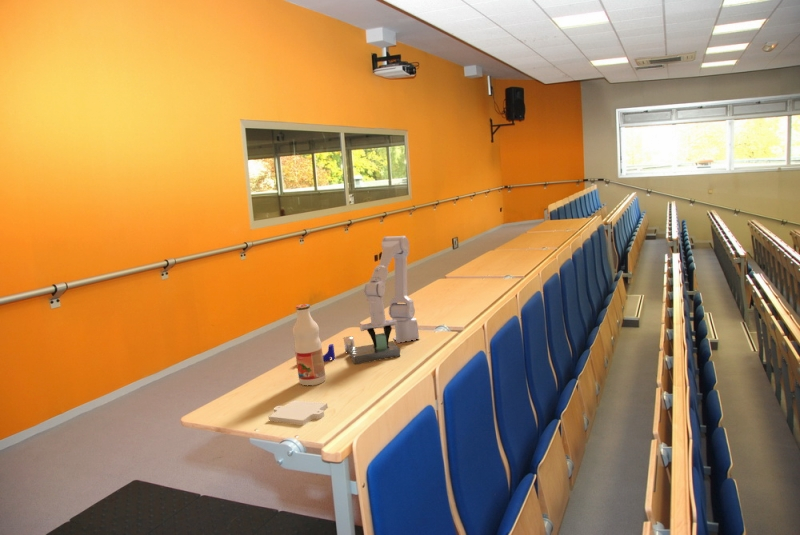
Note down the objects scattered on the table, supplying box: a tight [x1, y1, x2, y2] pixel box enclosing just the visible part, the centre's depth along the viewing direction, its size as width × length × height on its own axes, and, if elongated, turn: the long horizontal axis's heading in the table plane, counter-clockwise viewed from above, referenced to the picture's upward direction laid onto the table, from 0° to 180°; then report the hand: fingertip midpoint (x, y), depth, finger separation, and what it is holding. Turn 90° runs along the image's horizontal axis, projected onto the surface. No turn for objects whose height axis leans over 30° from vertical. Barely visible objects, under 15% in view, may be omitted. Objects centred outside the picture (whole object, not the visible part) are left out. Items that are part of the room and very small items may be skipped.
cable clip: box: [323, 343, 336, 362], centre depth 239 cm, size 12×4×6 cm, turn 87°
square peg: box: [375, 332, 387, 350], centre depth 239 cm, size 4×4×6 cm
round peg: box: [343, 335, 356, 354], centre depth 247 cm, size 4×4×6 cm
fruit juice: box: [292, 303, 326, 387], centre depth 215 cm, size 9×9×28 cm
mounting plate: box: [268, 399, 329, 426], centre depth 188 cm, size 18×13×2 cm
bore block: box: [348, 340, 401, 365], centre depth 239 cm, size 18×12×3 cm, turn 103°
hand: (381, 345), depth 239 cm, fingers closed on square peg, 4 cm apart
